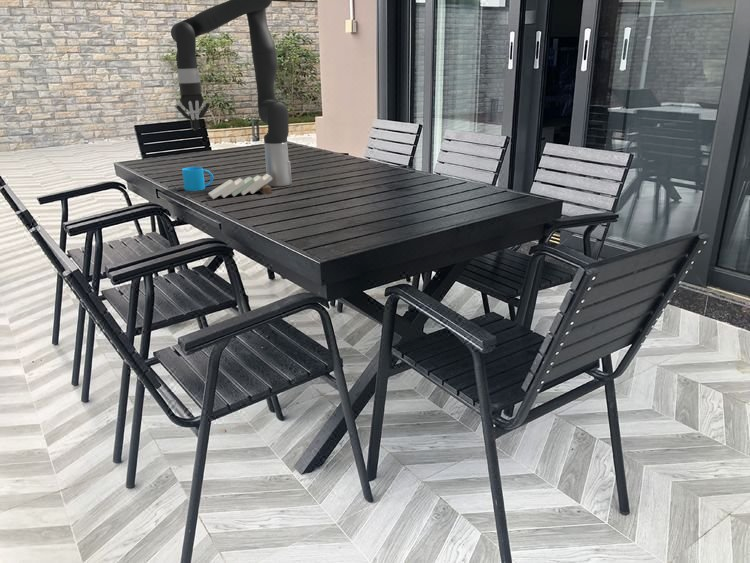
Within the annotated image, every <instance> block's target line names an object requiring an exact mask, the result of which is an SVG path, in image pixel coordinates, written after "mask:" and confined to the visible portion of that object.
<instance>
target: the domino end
mask: <svg viewBox="0 0 750 563" xmlns="http://www.w3.org/2000/svg"><path fill="white" fill-rule="evenodd" d="M261 177H262V178H263V180H264V181H263V182H261V183H260V184H258V185H257V186H256V187H254V188H253V189H252V190H250V191H249V192H248V193H250V194H252V195H253V194H255V193H256V192H258V190H259V189H260V188H261V187H263V186H264V185H265V184H266V185H268V182H269V181H271V180H272V177H271V176H270V175H268V174H267V173H265V174H264V175H263V176H261Z"/></svg>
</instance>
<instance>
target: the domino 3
mask: <svg viewBox="0 0 750 563" xmlns="http://www.w3.org/2000/svg"><path fill="white" fill-rule="evenodd" d="M253 178H254V177H251V176H247V177H246V178H245V179H243V180H244V182H245V183H246V184H244V185H243V186H241V187H240V188H238V189H237V190H235V191H234V192H232V193H231V194H230V196H232V197H236V196H237V195H239V194H240V192H242V191H243V190H244V189H246V188H247V187H249V186H250V185H251V184H253V183H254V182H255V181H254V179H253Z"/></svg>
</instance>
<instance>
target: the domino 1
mask: <svg viewBox="0 0 750 563" xmlns="http://www.w3.org/2000/svg"><path fill="white" fill-rule="evenodd" d="M234 181H235V180H234ZM234 181H233V180H232V179H228V180H227V181H225V182H223V183H222V184H220V185H219V186H217V187H216V188H214V189H212V190H211V191H209V192H208V193H207V194H208V196H209V197H210V198H211V199H212V200H215V199H217V198H218V197H221V196H220V195H221V194H223V193H224V192H226V191H227V190H229V189H230V188H232V187H234V186H235V185H236V184H235V183H234Z"/></svg>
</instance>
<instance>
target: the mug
mask: <svg viewBox="0 0 750 563" xmlns="http://www.w3.org/2000/svg"><path fill="white" fill-rule="evenodd" d="M181 173H182V180H183V187H184V191H186V192H189V191H190V192H195V191H196V192H197V191H203V190H205V189H206V187H208V186H210V185H211V184H212V183H213V181H214V174H213V173H212V172H211V171H210V170H208V169H204V168H203V167H202V166H191V167H190V166H189V167H185V168H182V169H181ZM205 173H208V174H209V176H210V180H209V182H207V183H206V182H205V176H204V174H205ZM205 183H206V184H205Z"/></svg>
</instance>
